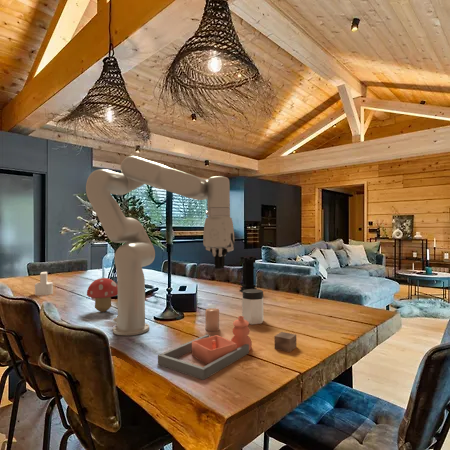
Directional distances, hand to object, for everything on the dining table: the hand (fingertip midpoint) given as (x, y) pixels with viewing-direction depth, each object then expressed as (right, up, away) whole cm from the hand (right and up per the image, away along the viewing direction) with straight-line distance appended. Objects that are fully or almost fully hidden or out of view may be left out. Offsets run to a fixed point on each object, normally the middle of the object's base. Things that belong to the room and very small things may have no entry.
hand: (219, 268), depth 111 cm
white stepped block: (-101, -25, +77) cm, 129 cm away
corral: (-4, -23, -18) cm, 29 cm away
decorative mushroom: (-52, -24, +35) cm, 67 cm away
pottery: (+2, -24, -13) cm, 27 cm away
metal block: (+20, -23, -10) cm, 33 cm away
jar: (+13, -24, +19) cm, 33 cm away
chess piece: (+15, -24, +79) cm, 84 cm away
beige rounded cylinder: (-3, -24, +9) cm, 25 cm away
